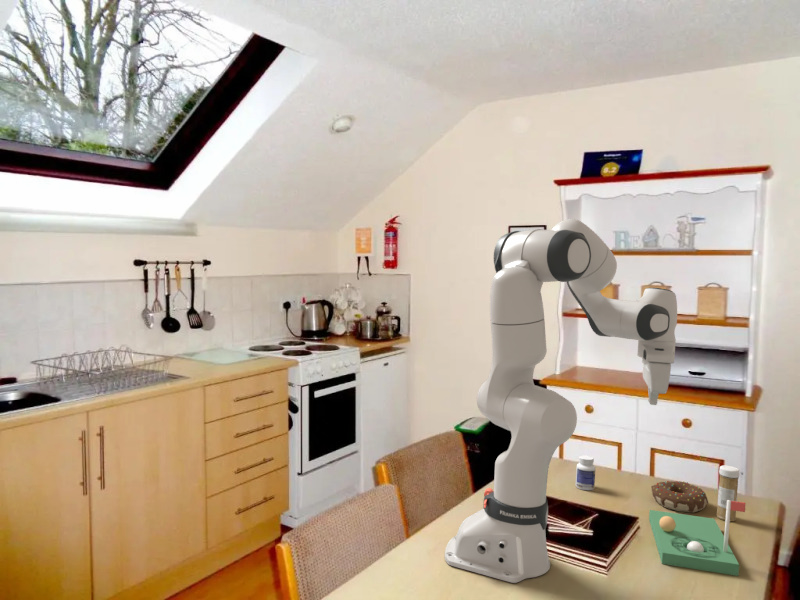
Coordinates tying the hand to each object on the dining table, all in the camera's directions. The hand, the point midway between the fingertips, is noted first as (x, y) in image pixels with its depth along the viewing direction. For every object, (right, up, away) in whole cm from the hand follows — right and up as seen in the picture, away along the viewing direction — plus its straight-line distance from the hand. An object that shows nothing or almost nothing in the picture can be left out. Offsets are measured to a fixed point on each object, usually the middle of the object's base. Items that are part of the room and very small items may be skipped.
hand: (652, 403), depth 158 cm
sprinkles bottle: (+19, -30, +1) cm, 36 cm away
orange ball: (-2, -26, -14) cm, 30 cm away
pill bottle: (-12, -28, +19) cm, 35 cm away
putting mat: (+2, -30, -15) cm, 34 cm away
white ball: (+1, -29, -21) cm, 36 cm away
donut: (+11, -29, +9) cm, 32 cm away
